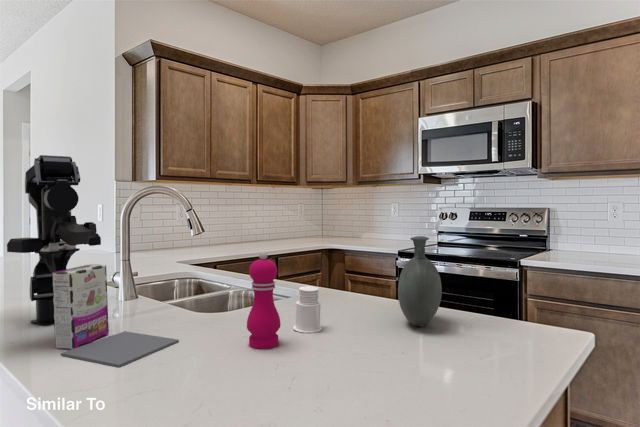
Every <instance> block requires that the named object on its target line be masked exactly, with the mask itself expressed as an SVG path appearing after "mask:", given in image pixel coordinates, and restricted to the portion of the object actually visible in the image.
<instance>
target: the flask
mask: <svg viewBox="0 0 640 427" xmlns="http://www.w3.org/2000/svg"><path fill="white" fill-rule="evenodd" d="M409 239H410V240H411V241H412V242H413V246H414V248H413V251H414V254H413V257H412V258H410V259H409V260H408V261H407V262H406V263H405V265H403V268H402V269H401V272H400V274H399V280H398V285H397V287H398V288H397V296H398V298H397V299H398V303H399V307H400V309H401V312H402V313H403V315H404V317H405V318H406V320H407V321H408V322H409V323H410V324H411V325H413V326H415V327H423V326H425V325H427V323H429V322H430V321H431V320H432V319H433V318H434V317H435V316H436V313H437V311H438V310H439V307H440V304H441V301H442V293H443V292H442V290H443V288H442V280H441V276H440V274H439V271H438V269H437V267H436V265H435V264H434V263H433V262H432V261H431V260H430V259H429V258H427V257H426V254H425V253H426V243H427V241H428V240H430V238H429V237H427V236H425V235H424V236H421V235H418V236H413V237H410V238H409Z"/></svg>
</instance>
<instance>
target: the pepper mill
mask: <svg viewBox="0 0 640 427" xmlns="http://www.w3.org/2000/svg"><path fill="white" fill-rule="evenodd" d="M258 258H259V259H256V260H254V261H252V263H251V264H250V265H249V270H248V271H249V272H248V275H249V277H250V278H251V279H252V282H251V289H252V290H253V302H252V306H251V309H250V311H249V314H248V317H247V321H246V329H247V330H248V332H249V333H250V336H248V345H249V346H250V347H251V348H253V349H259V350H265V349H267V350H268V349H271V348H275V347H277V346H278V345H279V335H278V334H277V332H278V331H279V330H280V328H281V318H280V315H279V313H278V309H277V308H276V305H275V301H274V290H275V288H276V286H275V285H276V281H275V280H274V279H275V278H276V277H277V275H278V267H277V264H276V263H275V262H274V261H273V260H271V259H268V254H267V252H266V251H262V252H260V253H259V254H258Z"/></svg>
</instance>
